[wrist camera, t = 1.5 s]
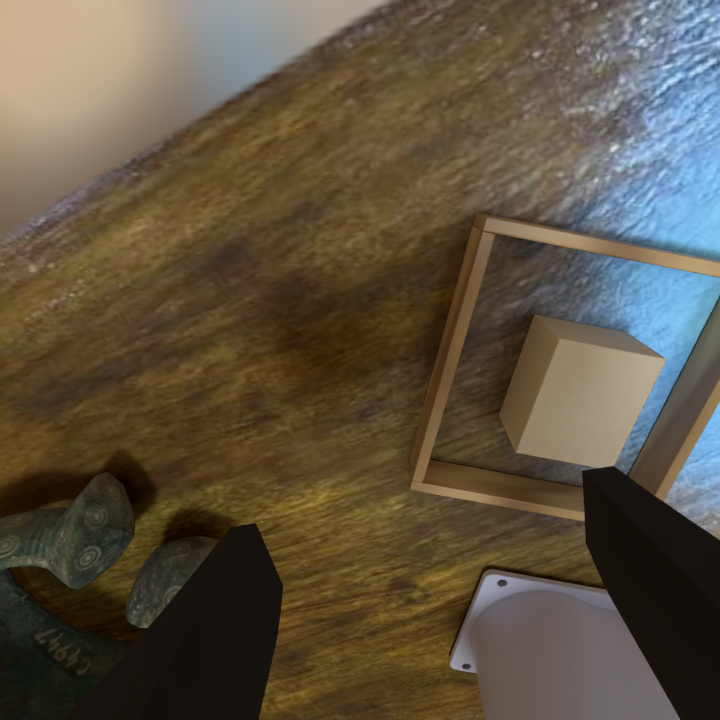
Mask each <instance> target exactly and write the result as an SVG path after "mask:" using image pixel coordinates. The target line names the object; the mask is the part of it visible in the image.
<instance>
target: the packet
mask: <svg viewBox="0 0 720 720" xmlns="http://www.w3.org/2000/svg"><path fill="white" fill-rule="evenodd" d="M665 362H666V358H664V357H663V356H661V355H660V354H658V353H657V352H655V351H654V350H652V349H651V348H649V347H648V346H646V345H645V344H643V343H642V342H640V341H639V340H637V339H636V338H634V337H633V336H631V335H630V334H628V333H627V332H624V331H618V330H613V329H608V328H603V327H598V326H593V325H587V324H582V323H577V322H572V321H567V320H561V319H556V318H551V317H546V316H541V315H536V314H535V315H534V317H533V319H532V322H531V325H530V328H529V331H528V334H527V336H526V339H525V342H524V345H523V348H522V351H521V354H520V356H519V359H518V362H517V365H516V368H515V371H514V373H513V376H512V379H511V382H510V385H509V388H508V390H507V393H506V396H505V399H504V402H503V405H502V408H501V410H500V413H499V417H500V420H501V422H502V424H503V426H504V428H505V430H506V433H507V435H508V437H509V439H510V441H511V443H512V445H513V448H514V450H515V452H516V453H520V454H525V455H531V456H536V457H541V458H547V459H552V460H558V461H563V462H568V463H574V464H579V465H584V466H590V467H595V468H603V467H609V466H614V465H615V463H616V461H617V459H618V457H619V455H620V453H621V451H622V449H623V447H624V445H625V443H626V441H627V439H628V437H629V435H630V433H631V431H632V429H633V427H634V424H635V422H636V420H637V418H638V416H639V414H640V412H641V410H642V408H643V406H644V404H645V402H646V400H647V398H648V396H649V394H650V392H651V390H652V388H653V386H654V384H655V382H656V380H657V378H658V376H659V374H660V372H661V370H662V368H663V366H664V364H665Z"/></svg>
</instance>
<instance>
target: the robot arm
mask: <svg viewBox="0 0 720 720" xmlns="http://www.w3.org/2000/svg"><path fill="white" fill-rule="evenodd" d="M582 478H583V496H584V515H585V533H586V544H587V547H588V549H589V551H590V554H591V556H592V558H593V561H594V563H595V565H596V568H597V570H598V572H599V575H600V577H601V579H602V581H603V583H604V586H605V588H606V590H605V589H600V588H594V587H589V586H583V585H578V584H572V583H566V582H561V581H555V580H550V579H544V578H539V577H533V576H527V575H522V574H516V573H511V572H505V571H500V570H494V569H490V570H487V571H485V572H484V573H483V575H482V577H481V580H480V582H479V585H478V587H477V590H476V592H475V595H474V597H473V600H472V602H471V605H470V607H469V610H468V612H467V615H466V617H465V620H464V622H463V625H462V627H461V630H460V632H459V635H458V637H457V640H456V642H455V645H454V647H453V650H452V652H451V655H450V657H449V662H450V666H451V667H452V668H453V669H455V670H460V671H466V672H472V673H477V678H478V683H479V689H480V694H481V700H482V705H483V711H484V716H485V720H720V540H719V539H717V538H716V537H714V536H713V535H711V534H710V533H708V532H707V531H705V530H704V529H702V528H701V527H699V526H698V525H696V524H695V523H693V522H692V521H690V520H689V519H687V518H686V517H685V516H683V515H682V514H680V513H679V512H677V511H676V510H674V509H673V508H672V507H670V506H669V505H667V504H666V503H664V502H663V501H662V500H660V499H659V498H657V497H656V496H655V495H653V494H652V493H650V492H649V491H648V490H646V489H645V488H643V487H642V486H641V485H639V484H638V483H637V482H635V481H634V480H632V479H631V478H630V477H628V476H627V475H625V474H624V473H623V472H621V471H620V470H618V469H617V468H615V467H614V466H609V467H603V468H597V469H591V470H584V471H582ZM499 580H502V581H499ZM282 591H283V584H282V582H281V580H280V577H279V575H278V573H277V571H276V568H275V566H274V564H273V561H272V559H271V557H270V555H269V552H268V550H267V548H266V545H265V543H264V541H263V539H262V536H261V534H260V532H259V529H258V527H257V525H256V523H254V524H248V525H242V526H236V527H231V528H230V529H229V530H228V531H227V533H226V534H225V535H224V536H223V537H222V538H221V540H220V541H219V542H218V543H217V544H216V546H215V547H214V548H213V549H212V551H211V552H210V553H209V554H208V556H207V557H206V558H205V559H204V560H203V562H202V563H201V564H200V565H199V567H198V568H197V569H196V570H195V572H194V573H193V574H192V575H191V577H190V578H189V579H188V580H187V581H186V583H185V584H184V585H183V586H182V588H181V589H180V590H179V591H178V592H177V594H176V595H175V596H174V597H173V598H172V600H171V601H170V602H169V603H168V605H167V606H166V607H165V608H164V609H163V611H162V612H161V613H160V614H159V615H158V616H157V617H156V619H155V620H154V621H153V622H152V623H151V624H150V625H149V627H148V628H147V629H146V630H145V631H144V632H143V633H142V634H141V636H140V637H139V638H138V639H137V640H136V641H135V642H134V644H133V645H132V646H131V647H130V648H129V649H128V650H127V651H126V653H125V654H124V655H123V656H122V657H121V658H120V659H119V660H118V661H117V663H116V664H115V665H114V666H113V667H112V668H111V669H110V670H109V671H108V672H107V673H106V674H105V675H104V676H103V677H102V678H101V679H100V680H99V682H98V683H97V684H96V685H95V686H94V687H93V688H92V689H91V690H90V691H89V692H88V693H87V694H86V695H85V696H84V697H83V698H82V699H81V700H80V701H79V702H78V703H77V704H76V705H75V706H74V707H73V708H72V709H71V710H70V711H69V712H68V713H67V714H66V715H65V716H64V717H62V718H61V719H60V720H258V719H259V715H260V711H261V706H262V702H263V698H264V693H265V689H266V685H267V680H268V676H269V672H270V667H271V663H272V658H273V654H274V649H275V645H276V640H277V635H278V628H279V620H280V612H281V602H282Z"/></svg>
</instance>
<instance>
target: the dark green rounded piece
mask: <svg viewBox="0 0 720 720" xmlns="http://www.w3.org/2000/svg"><path fill="white" fill-rule="evenodd" d="M135 521H136V518H135V515H134V512H133V509H132V506H131V503H130V501H129V498H128V496H127V493H126V490H125V488H124V485H123V484H122V483H120V482H119V481H118V480H117V479H116V478H114V477H113V476H112V475H111V474H110V473H109V472H105V473H102V474H100V475H97V476H95V477H94V478H93V479H92V480H91V481H90V482H89V484H88V485H87V486H86V487H85V488H84V489H83V491H82V492H81V493H80V494H79V495H78V496H77V498H76V499H75V500H74V501H73V503H72V504H71V505H70V506H69V507H68V508H63V507H61V508H54V509H44V510H34V511H28V512H22V513H17V514H13V515H9V516H6V517H2V518H0V720H60V719H61V718H62V717H64V716H65V715H66V714H67V713H68V712H69V711H70V710H71V709H72V708H73V707H74V706H75V705H76V704H77V703H78V702H79V701H80V700H81V699H82V698H83V697H84V696H85V695H86V694H87V693H88V692H89V691H90V690H91V689H92V688H93V687H94V686H95V685H96V684H97V683H98V682H99V680H100V679H101V678H102V677H103V676H104V675H105V674H106V673H107V672H108V671H109V670H110V669H111V668H112V667H113V666H114V665H115V664H116V663H117V661H118V660H119V659H120V658H121V657H122V656H123V655H124V654H125V653H126V651H127V650H128V649H129V648H130V647H131V646H132V645H133V644H134V643H129V642H125V641H121V640H117V639H113V638H110V637H106V636H103V635H100V634H97V633H94V632H91V631H88V630H85V629H83V628H80V627H78V626H75V625H73V624H71V623H70V622H68V621H66V620H65V619H63V618H61V617H60V616H58V615H56V614H55V613H53V612H51V611H50V610H48V609H46V608H45V607H43V606H42V604H41V603H40V602H39V601H38V600H37V599H36V598H35V597H34V596H33V595H32V594H31V593H27V592H26V591H25V589H24V587H23V586H22V584H21V583H20V581H19V580H18V579H17V577H16V576H15V575H14V573H13V572H12V570H11V568H10V567H22V566H37V567H42V568H47V569H48V570H49V571H51V572H52V573H53V574H54V575H55V576H56V577H58V578H59V579H60V580H61V581H62V582H63V583H64V584H66V585H67V586H68V587H70V588H73V589H76V590H79V589H81V588H83V587H84V586H86V585H88V584H89V583H91V582H93V581H94V580H96V579H97V578H98V577H99V576H100V575H101V574H102V573H104V572H105V571H106V570H107V569H108V568H109V567H110V566H111V565H113V564H114V563H115V562H116V561H117V560H118V559H119V558H120V556H121V555H122V554H123V552H124V551H125V549H126V548H127V547H128V545H129V544H130V542H131V540H132V538H133V537H134V532H135ZM219 541H220V539H215V538H209V537H203V536H195V537H185V538H180V539H177V540H175V541H172V542H169V543H167V544H164V545H162V546H161V547H159V548H157V549H155V551H154V552H153V553H152V554H151V555H150V557H149V558H148V559H147V560H146V562H145V563H144V564H143V566H142V567H141V569H140V570H139V572H138V575H137V577H136V580H135V583H134V585H133V588H132V591H131V593H130V596H129V599H128V602H127V605H126V619H127V620H128V621H129V622H130V623H131V624H133V625H135V626H137V627H139V628H148V627H149V625H150V624H151V623H152V622H153V621H154V620H155V619H156V617H157V616H158V615H159V614H160V613H161V612H162V611H163V609H164V608H165V607H166V606H167V605H168V603H169V602H170V601H171V600H172V598H173V597H174V596H175V595H176V594H177V592H178V591H179V590H180V589H181V588H182V586H183V585H184V584H185V583H186V581H187V580H188V579H189V578H190V577H191V575H192V574H193V573H194V572H195V570H196V569H197V568H198V567H199V565H200V564H201V563H202V562H203V560H204V559H205V558H206V557H207V556H208V554H209V553H210V552H211V551H212V549H213V548H214V547H215V546H216V544H217V543H218V542H219Z"/></svg>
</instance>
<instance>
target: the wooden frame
mask: <svg viewBox="0 0 720 720" xmlns="http://www.w3.org/2000/svg"><path fill="white" fill-rule="evenodd" d="M495 234H500V235H505V236H511V237H516V238H521V239H526V240H531V241H536V242H541V243H546V244H551V245H556V246H561V247H566V248H572V249H577V250H582V251H587V252H592V253H597V254H602V255H607V256H612V257H617V258H622V259H627V260H632V261H638V262H643V263H648V264H653V265H658V266H663V267H668V268H673V269H678V270H683V271H688V272H693V273H699V274H704V275H709V276H714V277H719V278H720V260H717V259H712V258H707V257H702V256H697V255H692V254H687V253H682V252H677V251H672V250H667V249H662V248H657V247H652V246H647V245H641V244H636V243H631V242H626V241H621V240H616V239H611V238H606V237H601V236H596V235H591V234H586V233H581V232H576V231H571V230H566V229H561V228H556V227H550V226H545V225H540V224H535V223H530V222H525V221H520V220H515V219H510V218H505V217H500V216H495V215H490V214H485V213H480V212H476V214H475V218H474V222H473V226H472V229H471V233H470V236H469V240H468V244H467V247H466V251H465V255H464V258H463V262H462V266H461V269H460V273H459V277H458V281H457V284H456V288H455V292H454V295H453V299H452V303H451V306H450V310H449V314H448V317H447V321H446V325H445V328H444V332H443V336H442V339H441V343H440V347H439V350H438V354H437V358H436V361H435V365H434V369H433V372H432V376H431V380H430V383H429V387H428V391H427V394H426V398H425V402H424V405H423V409H422V413H421V416H420V420H419V424H418V427H417V431H416V435H415V438H414V442H413V446H412V450H411V453H410V457H409V461H408V473H409V486H410V490H415V491H420V492H426V493H431V494H436V495H442V496H447V497H453V498H458V499H464V500H469V501H475V502H480V503H486V504H491V505H497V506H502V507H508V508H513V509H518V510H524V511H529V512H535V513H540V514H546V515H551V516H557V517H562V518H568V519H573V520H579V521H584V522H585V515H584V496H583V488H582V487H576V486H571V485H566V484H560V483H555V482H549V481H544V480H539V479H533V478H528V477H522V476H517V475H511V474H506V473H501V472H495V471H490V470H484V469H479V468H474V467H468V466H463V465H457V464H452V463H446V462H441V461H436V460H430V456H431V453H432V449H433V446H434V443H435V439H436V436H437V432H438V429H439V426H440V422H441V419H442V415H443V412H444V409H445V405H446V402H447V398H448V395H449V392H450V388H451V385H452V381H453V378H454V375H455V371H456V368H457V365H458V361H459V358H460V354H461V351H462V348H463V344H464V341H465V337H466V334H467V331H468V327H469V324H470V320H471V317H472V314H473V310H474V307H475V303H476V300H477V297H478V293H479V290H480V286H481V283H482V280H483V276H484V273H485V269H486V266H487V263H488V259H489V256H490V252H491V249H492V246H493V242H494V239H495ZM719 402H720V299H719V301H718V303H717V305H716V307H715V309H714V311H713V313H712V315H711V317H710V319H709V321H708V322H707V324H706V326H705V328H704V330H703V332H702V334H701V336H700V338H699V340H698V342H697V344H696V346H695V348H694V350H693V352H692V353H691V355H690V357H689V359H688V361H687V363H686V365H685V367H684V369H683V371H682V373H681V375H680V377H679V379H678V381H677V383H676V385H675V386H674V388H673V390H672V392H671V394H670V396H669V398H668V400H667V402H666V404H665V406H664V408H663V410H662V412H661V414H660V416H659V417H658V419H657V421H656V423H655V425H654V427H653V429H652V431H651V433H650V435H649V437H648V439H647V441H646V443H645V445H644V447H643V449H642V450H641V452H640V454H639V456H638V458H637V460H636V462H635V464H634V466H633V468H632V470H631V472H630V474H629V476H628V477H630V478H631V479H632V480H634V481H635V482H637V483H638V484H639V485H641V486H642V487H643V488H645V489H646V490H648V491H649V492H650V493H652V494H653V495H655V496H656V497H657V498H659V499H660V500H662V501H664V499H665V497H666V495H667V494H668V492H669V490H670V488H671V487H672V485H673V483H674V481H675V479H676V478H677V476H678V474H679V472H680V471H681V469H682V467H683V465H684V464H685V462H686V460H687V458H688V457H689V455H690V453H691V451H692V450H693V448H694V446H695V444H696V443H697V441H698V439H699V437H700V436H701V434H702V432H703V430H704V429H705V427H706V425H707V423H708V422H709V420H710V418H711V416H712V414H713V413H714V411H715V409H716V407H717V406H718V404H719Z"/></svg>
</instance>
